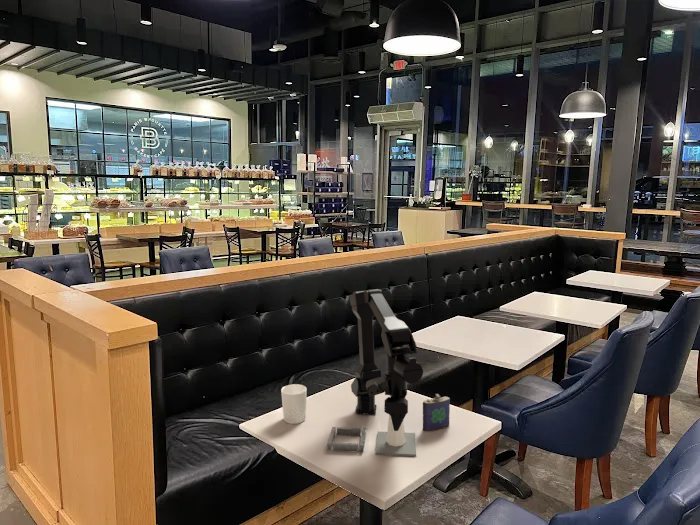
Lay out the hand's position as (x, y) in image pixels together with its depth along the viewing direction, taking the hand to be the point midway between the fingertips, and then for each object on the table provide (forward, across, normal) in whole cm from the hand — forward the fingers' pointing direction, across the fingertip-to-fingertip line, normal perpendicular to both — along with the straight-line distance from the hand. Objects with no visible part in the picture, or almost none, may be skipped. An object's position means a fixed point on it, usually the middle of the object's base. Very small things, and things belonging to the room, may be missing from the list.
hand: (396, 422), depth 148 cm
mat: (+7, 0, 0) cm, 7 cm away
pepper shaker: (+6, 0, 0) cm, 6 cm away
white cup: (+7, -13, -32) cm, 35 cm away
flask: (+7, -11, +12) cm, 18 cm away
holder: (+7, 0, -14) cm, 15 cm away
